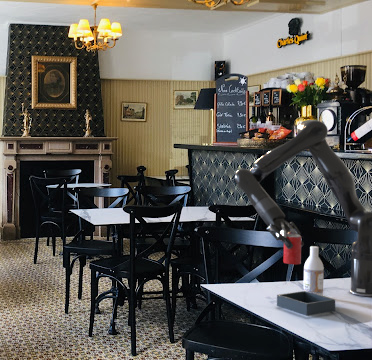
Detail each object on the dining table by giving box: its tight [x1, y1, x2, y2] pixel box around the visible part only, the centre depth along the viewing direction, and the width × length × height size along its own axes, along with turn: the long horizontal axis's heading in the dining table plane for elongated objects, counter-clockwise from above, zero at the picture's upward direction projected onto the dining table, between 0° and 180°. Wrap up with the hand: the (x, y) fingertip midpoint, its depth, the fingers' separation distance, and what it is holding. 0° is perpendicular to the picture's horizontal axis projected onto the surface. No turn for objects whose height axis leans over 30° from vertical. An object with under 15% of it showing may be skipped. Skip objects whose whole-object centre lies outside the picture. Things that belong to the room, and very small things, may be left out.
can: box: [282, 233, 302, 265], centre depth 220 cm, size 6×6×10 cm
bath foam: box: [303, 245, 325, 296], centre depth 230 cm, size 7×7×20 cm
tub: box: [276, 290, 336, 316], centre depth 213 cm, size 14×14×5 cm
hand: (296, 246), depth 219 cm, fingers closed on can, 6 cm apart
